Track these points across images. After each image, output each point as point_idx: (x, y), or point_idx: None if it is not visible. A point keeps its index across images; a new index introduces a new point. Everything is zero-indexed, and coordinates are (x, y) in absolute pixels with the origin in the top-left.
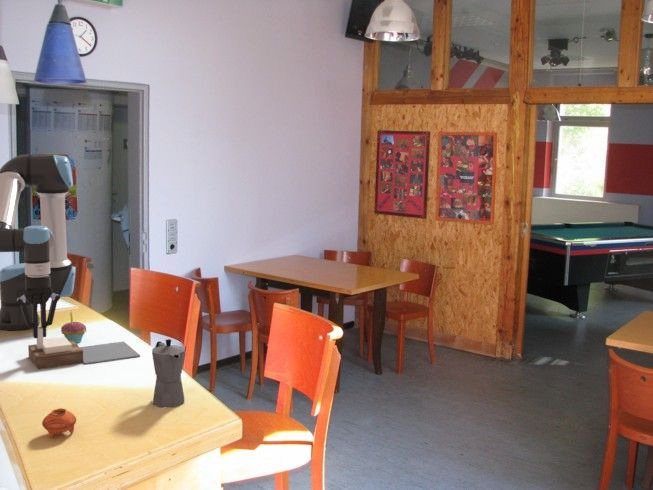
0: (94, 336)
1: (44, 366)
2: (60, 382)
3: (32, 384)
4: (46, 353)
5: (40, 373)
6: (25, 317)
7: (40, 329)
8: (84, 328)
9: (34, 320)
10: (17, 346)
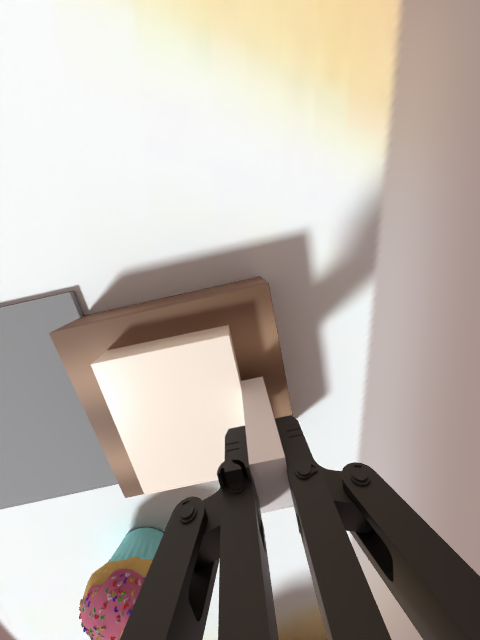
0: (86, 580)
1: (233, 284)
2: (154, 38)
3: (281, 51)
4: (224, 326)
5: (248, 218)
6: (465, 568)
7: (264, 455)
8: (83, 599)
9: (337, 533)
10: None
